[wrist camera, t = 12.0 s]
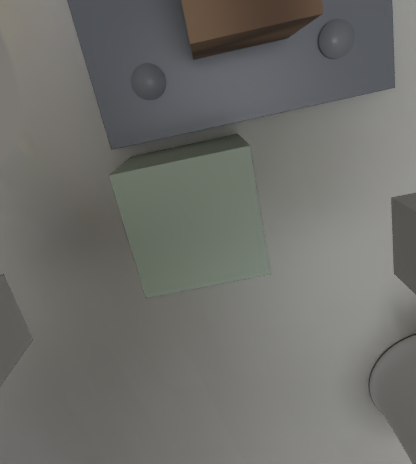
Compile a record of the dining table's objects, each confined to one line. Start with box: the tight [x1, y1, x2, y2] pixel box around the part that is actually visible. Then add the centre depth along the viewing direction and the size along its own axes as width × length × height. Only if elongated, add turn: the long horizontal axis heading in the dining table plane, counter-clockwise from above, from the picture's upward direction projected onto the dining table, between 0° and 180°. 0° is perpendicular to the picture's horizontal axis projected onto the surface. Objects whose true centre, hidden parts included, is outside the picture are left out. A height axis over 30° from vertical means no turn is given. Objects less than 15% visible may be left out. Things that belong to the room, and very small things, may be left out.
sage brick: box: [109, 134, 271, 298], centre depth 21 cm, size 6×6×6 cm
